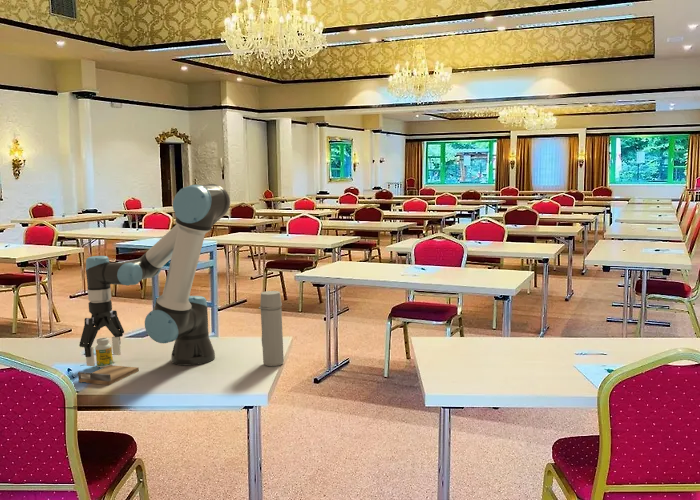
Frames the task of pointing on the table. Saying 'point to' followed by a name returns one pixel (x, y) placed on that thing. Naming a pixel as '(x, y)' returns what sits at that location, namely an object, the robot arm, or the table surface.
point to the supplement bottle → (103, 353)
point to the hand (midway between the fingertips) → (104, 360)
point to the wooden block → (107, 374)
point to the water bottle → (272, 328)
